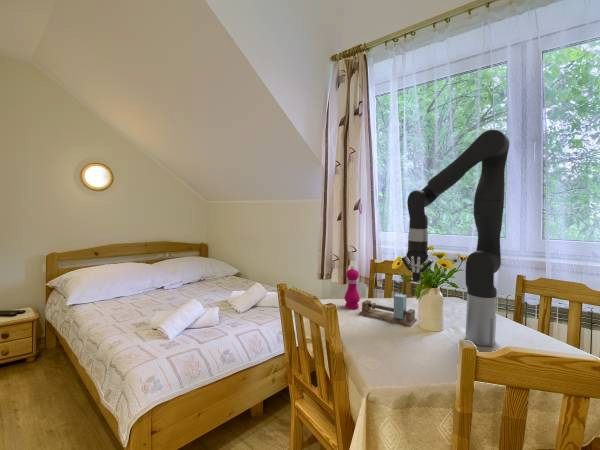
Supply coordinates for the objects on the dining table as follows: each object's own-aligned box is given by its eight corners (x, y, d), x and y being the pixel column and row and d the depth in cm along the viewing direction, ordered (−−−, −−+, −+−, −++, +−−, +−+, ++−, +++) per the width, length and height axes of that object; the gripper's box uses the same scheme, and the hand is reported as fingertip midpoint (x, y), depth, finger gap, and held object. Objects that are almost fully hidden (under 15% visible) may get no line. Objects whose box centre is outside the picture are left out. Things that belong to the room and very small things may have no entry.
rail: (416, 321, 138) (417, 308, 137) (410, 326, 131) (410, 313, 131) (367, 310, 152) (367, 298, 151) (359, 314, 145) (359, 302, 145)
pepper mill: (360, 309, 152) (361, 267, 150) (345, 309, 152) (345, 267, 151) (358, 305, 159) (359, 264, 158) (343, 304, 159) (344, 264, 158)
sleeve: (406, 316, 138) (406, 295, 138) (402, 319, 135) (403, 297, 135) (396, 314, 141) (397, 293, 140) (393, 317, 138) (394, 295, 137)
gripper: (437, 240, 131) (435, 282, 132) (405, 237, 139) (403, 277, 140) (432, 241, 125) (430, 285, 126) (398, 239, 133) (397, 280, 134)
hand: (416, 281), depth 133 cm, fingers closed
